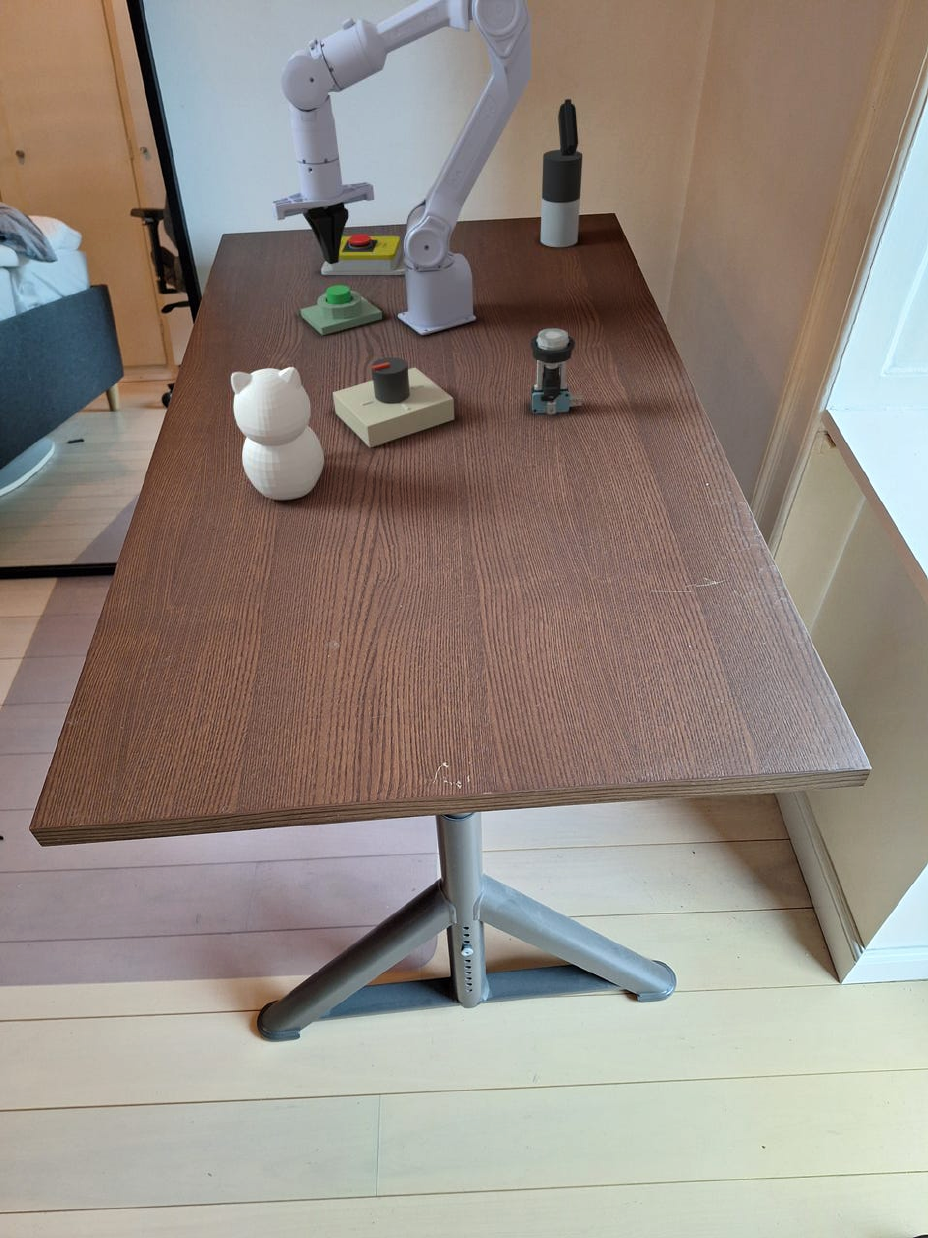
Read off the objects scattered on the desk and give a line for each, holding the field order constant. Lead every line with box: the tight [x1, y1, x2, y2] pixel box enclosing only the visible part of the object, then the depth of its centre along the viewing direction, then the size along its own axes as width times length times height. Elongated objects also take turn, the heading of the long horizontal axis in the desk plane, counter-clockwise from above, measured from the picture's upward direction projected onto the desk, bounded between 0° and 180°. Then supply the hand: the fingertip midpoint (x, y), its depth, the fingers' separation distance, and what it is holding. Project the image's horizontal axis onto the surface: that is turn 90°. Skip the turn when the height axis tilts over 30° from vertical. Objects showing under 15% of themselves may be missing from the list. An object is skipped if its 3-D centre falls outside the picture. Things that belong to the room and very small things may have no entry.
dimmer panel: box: [332, 367, 455, 449], centre depth 108 cm, size 12×10×3 cm
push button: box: [530, 327, 583, 415], centre depth 105 cm, size 7×5×10 cm
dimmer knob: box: [371, 356, 410, 403], centre depth 105 cm, size 4×4×4 cm
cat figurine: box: [230, 366, 325, 501], centre depth 94 cm, size 9×12×15 cm
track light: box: [540, 98, 583, 248], centre depth 144 cm, size 6×17×20 cm
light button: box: [325, 284, 351, 305], centre depth 129 cm, size 4×4×2 cm
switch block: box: [300, 290, 383, 336], centre depth 130 cm, size 10×8×3 cm
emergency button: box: [320, 234, 406, 276], centre depth 145 cm, size 9×4×15 cm
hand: (331, 261), depth 123 cm, fingers closed
